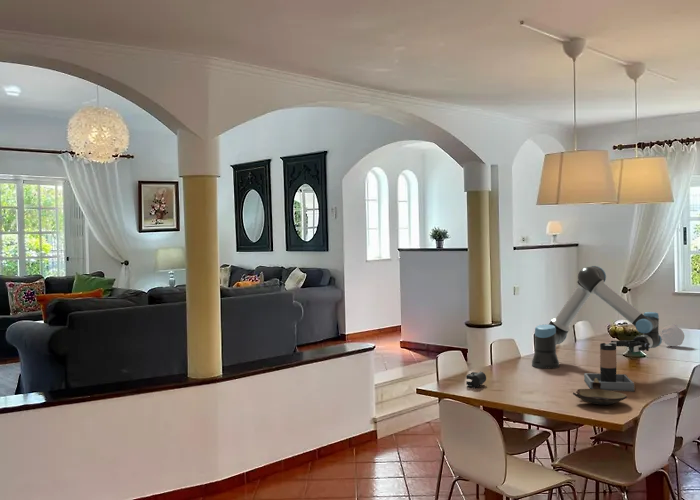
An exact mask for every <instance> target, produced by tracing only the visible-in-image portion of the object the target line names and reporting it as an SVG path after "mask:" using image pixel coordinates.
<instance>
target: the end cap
mask: <svg viewBox="0 0 700 500" xmlns="http://www.w3.org/2000/svg"><path fill="white" fill-rule="evenodd" d="M465 379H466V380H468V381H466V382H465V383H466V388H469V389H477V388H478V387H479V386H481V385H483V384H484V383H485V382H486V381H487V375H486V374H485V373H484V372H483V371H479V372H476V371H473V372H471V373H468V374H466V376H465ZM469 380H471V381H469Z"/></svg>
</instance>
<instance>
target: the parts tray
mask: <svg viewBox="0 0 700 500" xmlns="http://www.w3.org/2000/svg"><path fill="white" fill-rule="evenodd" d="M595 378H597V379H598V381H599V383H601V386H600V388H601V389H602V390H609V391H614V392H635V382H634V381H632V379H630V377H628V376H627V374H626V373H625V374H622V373H620V374H619V373H616V382H601V376H600V373H595V372H594V373H590V372H589V373H587V372H584V374H583V379H584V380H583V381H584V383H585V384H586V386H587V387H588V389H593V386H592V383H593V382H594V379H595Z"/></svg>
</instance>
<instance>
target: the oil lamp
mask: <svg viewBox="0 0 700 500" xmlns="http://www.w3.org/2000/svg"><path fill="white" fill-rule="evenodd" d="M592 386H593V389H590V388H580V389H577V390H576V391H574V392H573V391H572V395H573V396H575V397H576V398H578V399H580V400H582V401H584V402H586V403H589V404H593V405H600V406H601V405H602V406H603V405H606V406H607V405H608V406H609V405H612V404H616V403H619V402H621V401H624V400H625V399H627V395H626V394H625V393H622V392H620V391H609V390H602V389H601V388H600V386H601V383H599V381H598V379H597V378H595V379H594V382H593V383H592Z"/></svg>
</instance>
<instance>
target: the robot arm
mask: <svg viewBox="0 0 700 500" xmlns="http://www.w3.org/2000/svg"><path fill="white" fill-rule="evenodd" d="M606 279H607V275H606V271H605V270H604V269H603V268H602V267H600V266H596V265H591V266H585V267H582V268H581V269H580V270H579V271H578V273H577V281H576V284H577V286H576V288H575V289H574V291H573V292H572V293H571V295H570V297H569V298H568V299H567V301H566V302H565V304H564V306H563V307H562V308H561V310H560V312H559V313H558V314H557V316H556V317H555V318H552V319H551V320H550V321H549V323H547V324H539V325H536V327H535V328H534V354H533V358H532V361H531V366H532V367H534V368H538V369H556V368H560V362H559V359H558V356H557V345H560V344H562V343H563V342H564V341H565V340H566V339H567V336H568V333H569V332H570V325H571V323H572V322H573V321H574V319H576V317H577V315H578V314H579V312H580V311H581V309H582V307H583V306H584V305H585V303H586V302H587V300H588V299H589V297H591V294H592V295H593V294H595V295H596V296H597V297H598V298H599V299H600V300H602V301H603V302H604V303H606V304H607V305H608V306H609V307H611V308H612V309H613V310H615V311H616V312H617V313H618V314H619V315H620V316H621V317H623V318H624V319H625V320H627V321H628V322H629V323H630V324H631V325H633V326H634V327H635V329H636V330H637V332H638V333H640V334H642V335H637V336H635V337H634V338H632V340H627V339H624V340H611V341H610V342H608V344H610V343H613V344H616V347H626V348H632V349H633V353H636V352H642V351H643V352H644V351H646V352H649V349H655V348H657V347H659V346H661V344H662V343H663V340H662V338H661V334H659V333H660V331H659V330H660V329H659V328H660V327H659V325H660V324H659V323H660V321H659V320H660V318H659V313H658V312H657V311H645V312H644V313H642V312H641V311H639V310H638V309H637V308H636V307H634V306H633V305H632V304H631V303H629V302H628V301H627V300H626V299H625V298H623V297H622V296H621V295H620V294H618V293H617V292H616V291H614V290H613V289H612V288H611V287H610V286H608V284H606V283H605V282H606Z"/></svg>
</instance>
